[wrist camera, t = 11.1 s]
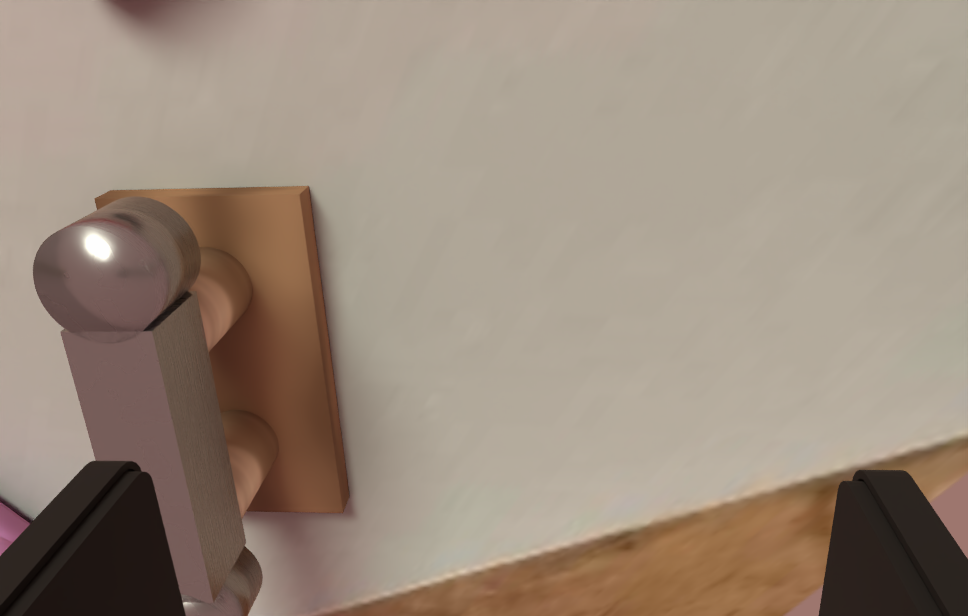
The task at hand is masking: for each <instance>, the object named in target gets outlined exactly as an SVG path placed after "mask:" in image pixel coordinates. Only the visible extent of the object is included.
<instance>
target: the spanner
mask: <svg viewBox="0 0 968 616" xmlns="http://www.w3.org/2000/svg"><path fill="white" fill-rule="evenodd" d="M200 266H201V254H200V248H199V244H198V241H197V239H196V236H195V234H194V233H193V231H192V229H191V228H190V226H189V225H188V223H187V222H186V221H185V220H184V219H183V217H181V216H180V215H179V214H178V213H177V212H176V211H175V210H173V209H172V208H170V207H169V206H167V205H165V204H164V203H161V202H159V201H157V200H154V199H151V198H146V197H137V196H133V197H125V198H121V199H118V200H116V201H113V202H111V203H110V204H108V205H106V206H104V207H102V208H100V209H98V210H97V211H95V212H93V213H91V214H89V215H87V216H85V217H83V218H82V219H80V220H78V221H76V222H74V223H72V224H70V225H69V226H67V227H65V228H63V229H61V230H59V231H57V232H56V233H54V234H52V235H51V236H50V237H48V238H47V239H46V240H45V241H44V242H43V244H42V245H41V246H40V248H39V250H38V251H37V254H36V257H35V260H34V265H33V278H34V284H35V288H36V291H37V294H38V296H39V298H40V300H41V302H42V304H43V306H44V307H45V309H46V310H47V311H48V313H49V314H50V315H51V316H52V317H53V318H54V319H55V321H56V322H57V323H59V324H60V325H61V326H62V327H63V328H65V329H64V330H62V331H61V336H62V340H63V343H64V347H65V350H66V354H67V358H68V361H69V365H70V369H71V372H72V376H73V379H74V383H75V387H76V390H77V394H78V398H79V401H80V405H81V409H82V412H83V416H84V419H85V423H86V427H87V430H88V434H89V438H90V441H91V445H92V448H93V452H94V456H95V459H96V461H133V462H136V463H137V464H138V465H139V467H140V468H141V471H142V472H147V473H149V474H150V476H151V478H152V480H153V484H154V488H155V492H156V496H157V500H158V504H159V508H160V512H161V516H162V520H163V524H164V528H165V532H166V536H167V541H168V545H169V549H170V553H171V557H172V561H173V565H174V569H175V573H176V577H177V581H178V585H179V589H180V593H181V597H182V602H183V606H184V610H185V614H186V616H248V614H249V612H250V609H251V607H252V605H253V603H254V601H255V599H256V597H257V595H258V593H259V591H260V588H261V585H262V578H263V577H262V570H261V567H260V565H259V562H258V561H257V559H256V558H255V556H254V555H253V554H252V553H251V552H250V551H249V550H248V549H247V548H246V547H245V544H246V539H245V534H244V529H243V524H242V519H241V514H240V509H239V504H238V499H237V493H236V488H235V483H234V478H233V473H232V468H231V463H230V458H229V453H228V448H227V443H226V438H225V433H224V428H223V423H222V418H221V413H220V408H219V403H218V398H217V393H216V388H215V383H214V378H213V373H212V367H211V362H210V357H209V352H208V347H207V342H206V337H205V332H204V327H203V322H202V317H201V312H200V307H199V302H198V297H197V292H196V291H189V290H190V288H191V287H192V286H193V285H194V283H195V282H196V279H197V277H198V275H199V271H200Z"/></svg>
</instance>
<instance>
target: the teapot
mask: <svg viewBox="0 0 968 616" xmlns="http://www.w3.org/2000/svg"><path fill="white" fill-rule="evenodd" d="M29 525H30V523H29V522H27V521H26V520H25V519H23V518H22V517H20V516H19V515H18V514H16V513H15V512H14V511H12V510H11V509H9V508H8V507H7V506H5V505H4V504H3V503H1V502H0V556H1V555H2V553H3V552H4V551H5V550H6V549H7V548H8V547H9V546H10V545H11V544H12V543H13V542H14V541H15V540H16V539H17V538H18V537H19V535H20V534H21V533H22V532H23V531H24V530H25V529H26V528H27V527H28V526H29Z"/></svg>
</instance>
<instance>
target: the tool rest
mask: <svg viewBox="0 0 968 616" xmlns="http://www.w3.org/2000/svg"><path fill="white" fill-rule="evenodd" d="M133 196H137V197H146V198H151V199H154V200H157V201H159V202H161V203H164V204H165V205H167V206H169V207H170V208H172V209H173V210H175V211H176V212H177V213H178V214H179V215H180V216H181V217H183V219H184V220H185V221H186V222H187V223H188V225H189V226H190V228H191V229H192V231H193V233H194V234H195V236H196V239H197V241H198V244H199V248H200V254H201V266H200V271H199V275H198V277H197V279H196V282H195V283H194V285H193V286H192V287H191V288H190V290H189V291H196V292H197V297H198V302H199V307H200V312H201V317H202V322H203V327H204V332H205V337H206V342H207V347H208V352H209V357H210V362H211V367H212V373H213V378H214V383H215V388H216V393H217V398H218V403H219V408H220V413H221V418H222V423H223V428H224V433H225V438H226V443H227V448H228V453H229V458H230V463H231V468H232V473H233V478H234V483H235V488H236V493H237V499H238V504H239V509H240V514H241V519H242V518H243V516H244V514H245V512H246V511H261V512H318V513H343V512H344V509H345V506H346V504H347V501H348V499H349V489H348V482H347V474H346V467H345V459H344V451H343V444H342V436H341V429H340V421H339V413H338V406H337V398H336V391H335V383H334V375H333V368H332V360H331V353H330V345H329V337H328V330H327V322H326V315H325V307H324V300H323V292H322V284H321V277H320V269H319V262H318V254H317V246H316V239H315V231H314V224H313V216H312V208H311V201H310V193H309V186H292V187H247V188H202V189H156V190H111V191H109V192H107V193H105V194H103V195H101V196H99V197H97V198H95V203H96V207H97V210H98V209H100V208H102V207H104V206H106V205H108V204H110V203H111V202H113V201H116V200H118V199H121V198H125V197H133Z"/></svg>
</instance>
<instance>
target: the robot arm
mask: <svg viewBox="0 0 968 616" xmlns="http://www.w3.org/2000/svg"><path fill="white" fill-rule="evenodd" d="M0 616H186V614H185V610H184V606H183V602H182V597H181V593H180V589H179V585H178V581H177V577H176V573H175V569H174V565H173V561H172V557H171V553H170V549H169V545H168V541H167V536H166V532H165V528H164V524H163V520H162V516H161V512H160V508H159V504H158V500H157V496H156V492H155V488H154V484H153V480H152V478H151V476H150V474H149V473H147V472H142V471H141V468H140V467H139V465H138V464H137V463H136V462H133V461H92V462H90V463H88V464H87V465H86V466H85V467H84V468H83V469H82V470H81V471H80V472H79V473H78V474H77V475H76V476H75V477H74V478H73V479H72V480H71V481H70V483H69V484H68V485H67V486H66V487H65V488H64V489H63V490H62V491H61V492H60V493H59V494H58V495H57V496H56V497H55V498H54V499H53V501H52V502H51V503H50V504H49V505H48V506H47V507H46V508H45V509H44V510H43V511H42V512H41V513H40V514H39V515H38V516H37V517H36V519H35V520H34V521H33V522H32V523H31V524H30V525H29V526H28V527H27V528H26V529H25V530H24V531H23V532H22V533H21V534H20V535H19V537H18V538H17V539H16V540H15V541H14V542H13V543H12V544H11V545H10V546H9V547H8V548H7V549H6V550H5V551H4V552H3V553H2V555H1V556H0ZM819 616H968V559H967V558H966V556H965V555H964V553H963V552H962V550H961V549H960V547H959V546H958V544H957V543H956V541H955V540H954V538H953V537H952V536H951V534H950V533H949V531H948V530H947V528H946V527H945V525H944V524H943V522H942V521H941V520H940V518H939V516H938V515H937V514H936V512H935V511H934V509H933V508H932V506H931V505H930V503H929V502H928V500H927V499H926V497H925V496H924V495H923V493H922V492H921V490H920V489H919V487H918V486H917V484H916V483H915V481H914V480H913V478H912V477H911V476H910V475H909V474H908V473H907V472H906V471H902V470H859V471H857V472H856V473H855V475H854V476H853V480H852V481H843V482H841V483H840V485H839V488H838V493H837V500H836V506H835V513H834V519H833V526H832V532H831V539H830V545H829V552H828V558H827V565H826V572H825V578H824V585H823V591H822V598H821V604H820V611H819Z"/></svg>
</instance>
